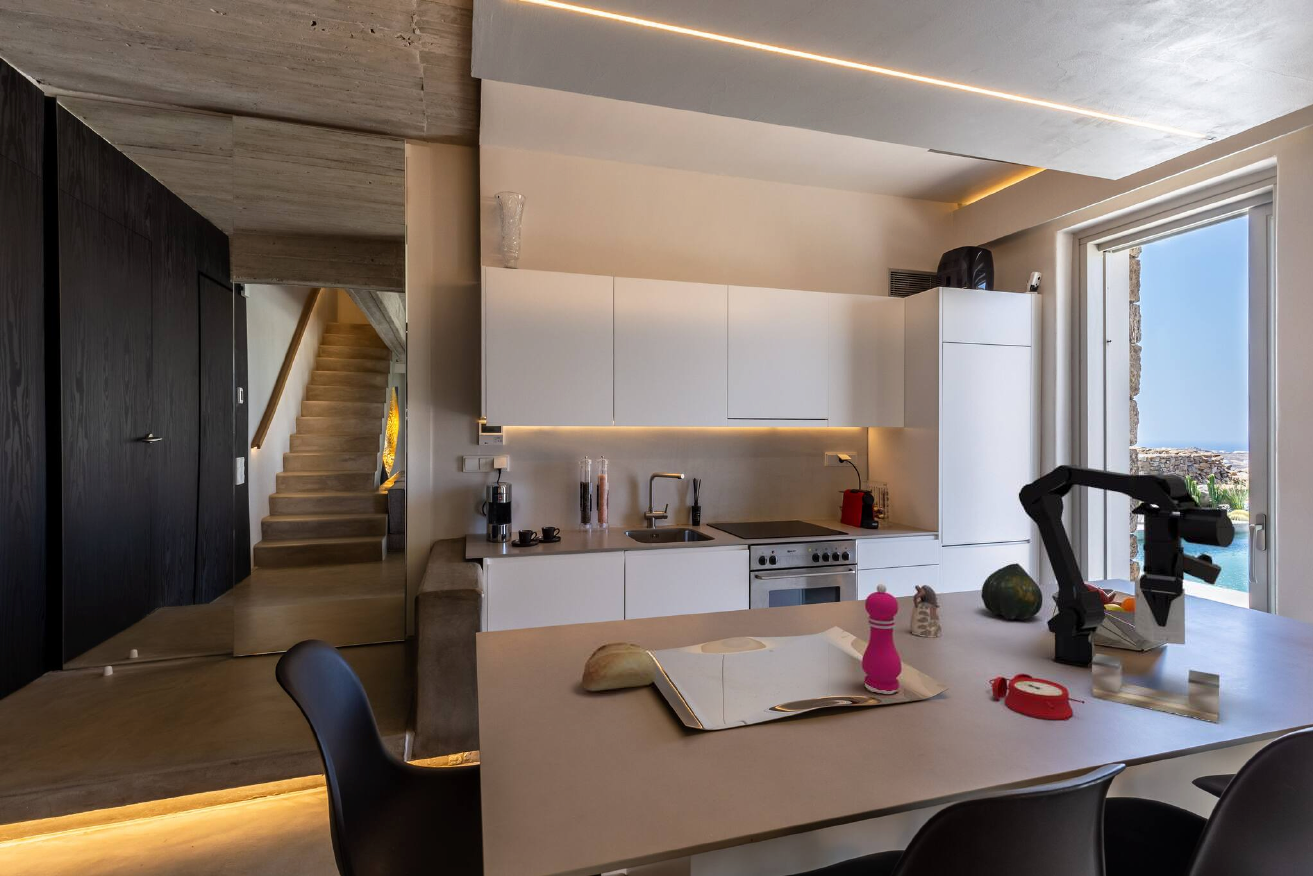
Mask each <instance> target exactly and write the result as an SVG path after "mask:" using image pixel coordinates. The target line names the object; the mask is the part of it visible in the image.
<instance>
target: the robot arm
mask: <svg viewBox="0 0 1313 876" xmlns="http://www.w3.org/2000/svg"><path fill="white" fill-rule="evenodd" d="M1076 485H1077V486H1081V487H1088V488H1093V489H1099V490H1105V491H1109V492H1116V493H1120V494H1123V495H1126V496H1128V497H1130V498H1132V499H1134V500H1136V501H1138V502H1141V503H1139V505H1138V506H1137V507H1135V508H1133V509H1132V510H1131V512H1130V513H1131V514H1132V515H1140V516H1142V515H1143V545H1142V546H1143V547H1142V550H1143V567H1142V569H1143V571H1142V572H1143V574H1141V575H1140V577H1139V579H1140V589H1141V592H1142V593H1143V595H1144V597H1145V599H1146V601H1147V603H1148V605H1149V607H1150V609H1151V612H1152V614H1153V616H1154V618H1155V620H1156V622H1157V624H1158V626H1161V627H1165V626H1166V623H1167V619H1168V615H1169V611H1170V607H1171V603H1172V601H1173V600H1174V599H1176V598H1178V597H1180V596H1181V595H1182V593H1183V589H1184V580H1185V574H1186V575H1188V576H1191V577H1194V578H1196V579H1198V580H1199V579H1200V580H1202V581H1203V582H1204V583H1206V584H1210V585H1213V586H1214V585H1215V583H1216V581H1217V579H1218V577H1219V575H1220V573H1221V572H1222V567H1221V566H1220V565H1218V564H1215V563H1213V558H1212V556H1211V555H1209V554H1205V553H1201V554H1199V555H1198V556H1197V557H1196V556H1194V555H1191V554H1188V553H1185V551H1184V550H1185V547H1184V546H1182V539H1183V540H1184V542H1186V543H1188V544H1195V545H1200V546H1201V545H1203V546H1211V547H1219V548H1229V547H1230V545H1231V544H1232V543H1233V542H1234V539H1235V532H1236V529H1235V526H1234V525H1233V522H1232V519H1231V518H1230V517H1229V515H1228V510H1227V509H1226V508H1205V507H1204V508H1203V507H1201V505H1200V504H1199V503H1198V502H1197V500H1196V499H1195V498H1194V497H1193V495H1192V494H1191V493H1190V492H1189V491H1188V487H1187V484H1186V482H1185V481H1184V479H1183V478H1182V477H1181V476H1179V475H1176V474H1169V473H1168V474H1129V473H1121V472H1117V471H1116V472H1114V471H1108V470H1102V469H1096V468H1091V467H1090V468H1089V467H1083V466H1079V465H1077V464H1063V465H1062V464H1061V465H1058V466H1057V467H1055V468H1054V469H1053V470H1051V471H1050V472H1048V473H1047V474H1044V475H1043V476H1040V477H1039V478H1037V479H1035V480H1033V482H1031V483H1027V484H1025V485H1023V486H1022V488H1020V491H1019V493H1018V499H1019V503H1020V505H1022V509H1023V510H1024V512H1025V514H1026V515H1027V516H1028V517H1029V518H1030V519H1031V520H1032V521H1033V522H1034V523H1035V524H1036V526H1037V529H1038V531H1039V534H1040V537H1041V540H1042V543H1043V546H1044V548H1045V552H1046V554H1047V557H1048V560H1049V563H1050V566H1051V568H1052V572H1053V574H1054V577H1055V580H1056V583H1057V586H1058V591H1057V592H1058V593H1057V598H1056V606H1057V612H1058V613H1056V614H1055V615H1054V616H1053V617H1051V618H1050V619H1049V620H1047V621H1046V624H1047V627H1048V630H1049V632H1050V633H1052V634H1053V633H1054V656H1053V658H1052V661H1053V662H1057V663H1063V664H1068V665H1074V666H1079V667H1084V668H1089V667H1090V665H1092V660H1093V658H1094V657H1095V642H1094V640H1092V637H1091V635H1092V634H1095V633H1097V630H1098V628H1099V626H1100V625H1102V624H1103V622H1104V620H1106V613H1105V610H1107V607H1106V606H1105V605H1104V602H1103V601H1102V594H1101V593H1100V591H1099V590H1091V589H1090V588H1089V587H1088V586H1087V585H1086V584H1085V582H1084V579H1083V575H1082V573H1081V571H1080V568H1079V564H1078V562H1077V559H1076V556H1075V553H1074V551H1073V548H1072V545H1071V543H1070V539H1069V537H1068V534H1067V531H1066V529H1065V525H1064V524H1063V520H1062V518H1063V513H1064V512H1063V511H1064V501H1063V498H1064V497H1065V496H1066V495H1068V494H1069V493H1071V491H1072V489H1073V488H1074V487H1075V486H1076ZM1091 633H1092V634H1091Z"/></svg>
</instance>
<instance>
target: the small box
mask: <svg viewBox="0 0 1313 876" xmlns="http://www.w3.org/2000/svg"><path fill="white" fill-rule="evenodd" d="M1185 594H1186V593H1185V588H1183V593H1182V595H1181V596H1180V597H1178V598H1176V599H1174V600H1173V601H1172V603H1171V607H1170V611H1169V615H1168V619H1167V623H1166V626H1165V627H1161V626H1158V624H1157V622H1156V620H1155V618H1154V616H1153V614H1152V612H1151V609H1150V607H1149V605H1148V603H1147V601H1146V599H1145V597H1144V595H1143V593H1142V592H1141V589H1140V578H1135V579H1134V631H1135V632H1136V633H1137V634H1139V635H1140V636H1142V637H1143V638H1145V639H1146V640H1147V641H1148V642H1150V643H1158V644H1160V643H1161V644H1163V643H1164V644H1170V645H1171V644H1172V645H1186V610H1185V609H1186V602H1185V599H1186V598H1185V597H1186V595H1185Z"/></svg>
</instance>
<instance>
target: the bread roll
mask: <svg viewBox="0 0 1313 876" xmlns="http://www.w3.org/2000/svg"><path fill="white" fill-rule="evenodd" d="M656 677H657V669H656V666H655V663H654V662H653V660H652V659H651V656H650V655H649V654H648V652H647V651H646V650H645V649H643V648H641V646H640V645H636V644H634V643H631V642H626V641H625V642H623V641H621V642H613V643H612V642H611V643H608V644H604V645H602V646H600V647H598V648H597V649H595V651H593V652H592V654H591V655H590V657H589V658H588V660H587V661H586V663H585V665H584V669H583V673H582V679H581V682H582V683H581V684H582V686H583V687H584V689H585V690H587V691H591V692H599V691H605V690H606V691H607V690H615V689H623V688H633V687H641V686H642V687H643V686H647V685H648V686H649V685H650V684H652V683H653V682H654V680H655V679H656Z"/></svg>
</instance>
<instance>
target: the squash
mask: <svg viewBox="0 0 1313 876" xmlns="http://www.w3.org/2000/svg"><path fill="white" fill-rule="evenodd" d="M1042 593H1043V592H1042V591H1041V587H1039V585H1038V584H1037V582H1036V581H1035V580H1034V579H1033V577H1032V576H1031V575H1030V574H1029V573H1027V571H1026V570H1025V569H1024V568H1023V567H1022V566H1021V565H1020V564H1019V563H1011V564H1008V565H1006V566H1003V567H1001V568H998V569H997V570H995V571H994V572H992V573H991V574H990V575H989V576H987V578H986V579H985V581H983V585H982V587H981V600H982V601H983V604H984V607H985V608H986V609H987V611H988V612H991V613H992V614H994V613H997V614H996V615H998V614H1001V615H1002V616H1003V618H1005V619H1007V620H1008V619H1013V620H1015V619H1016V620H1019V619H1020V621H1022V620H1026V619H1028V618H1031V617H1034V616H1036V615H1037V614H1038V613H1039V612H1040V611H1041V609H1042V606H1043V594H1042Z"/></svg>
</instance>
